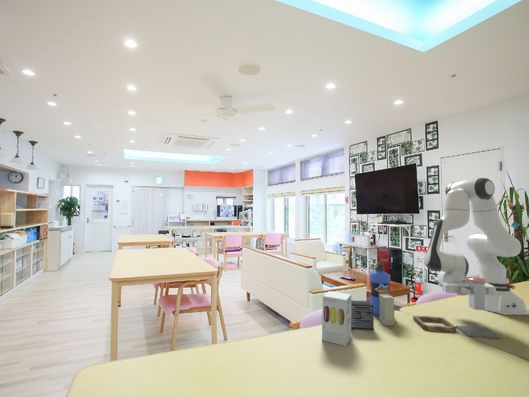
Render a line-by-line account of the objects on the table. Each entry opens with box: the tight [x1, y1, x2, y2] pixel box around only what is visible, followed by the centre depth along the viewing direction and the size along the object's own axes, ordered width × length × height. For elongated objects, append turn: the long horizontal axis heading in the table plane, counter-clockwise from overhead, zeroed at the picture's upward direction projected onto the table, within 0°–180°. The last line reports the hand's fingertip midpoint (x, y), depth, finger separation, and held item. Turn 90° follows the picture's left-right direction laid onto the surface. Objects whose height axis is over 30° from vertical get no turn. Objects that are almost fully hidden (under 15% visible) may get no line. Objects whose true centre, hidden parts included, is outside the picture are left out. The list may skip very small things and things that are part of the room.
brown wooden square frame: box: [412, 315, 457, 333], centre depth 129 cm, size 13×13×2 cm
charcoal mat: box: [455, 325, 502, 340], centre depth 122 cm, size 12×10×1 cm
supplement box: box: [321, 290, 352, 347], centre depth 113 cm, size 10×9×17 cm
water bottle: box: [369, 261, 391, 318], centre depth 143 cm, size 9×9×25 cm
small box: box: [351, 299, 375, 331], centre depth 126 cm, size 11×6×10 cm, turn 84°
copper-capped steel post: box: [466, 276, 486, 311], centre depth 122 cm, size 6×6×12 cm
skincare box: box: [379, 293, 395, 326], centre depth 131 cm, size 6×4×12 cm
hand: (477, 293), depth 122 cm, fingers closed on copper-capped steel post, 4 cm apart
